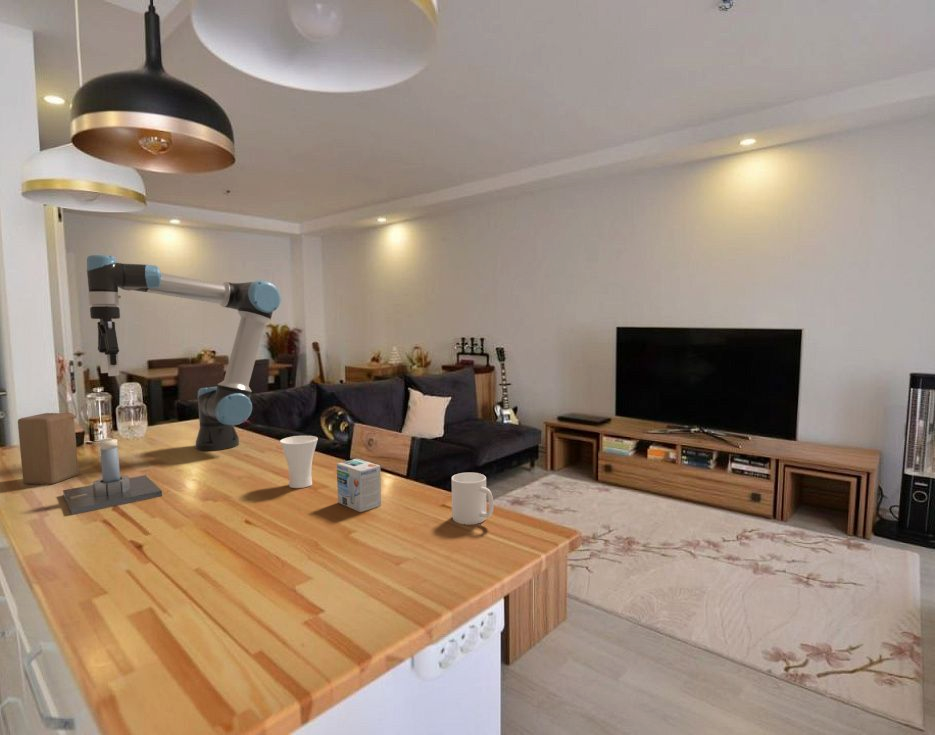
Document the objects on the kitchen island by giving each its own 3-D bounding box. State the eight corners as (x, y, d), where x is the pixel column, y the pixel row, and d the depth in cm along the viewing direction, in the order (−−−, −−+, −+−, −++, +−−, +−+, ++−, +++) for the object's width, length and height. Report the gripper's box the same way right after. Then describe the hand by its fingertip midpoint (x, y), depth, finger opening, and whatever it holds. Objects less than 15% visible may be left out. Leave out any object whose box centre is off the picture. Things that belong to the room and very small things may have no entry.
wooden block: (80, 475, 165) (75, 412, 163) (52, 485, 155) (46, 418, 153) (51, 474, 166) (46, 412, 164) (21, 484, 156) (15, 418, 154)
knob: (119, 487, 148) (115, 436, 146) (122, 490, 145) (118, 438, 143) (102, 490, 145) (97, 438, 144) (104, 493, 142) (100, 440, 141)
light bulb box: (336, 503, 138) (335, 463, 136) (358, 496, 142) (356, 457, 141) (361, 513, 130) (359, 470, 129) (382, 505, 135) (381, 465, 134)
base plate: (145, 479, 159) (144, 465, 159) (162, 495, 144) (161, 480, 144) (63, 495, 146) (62, 479, 145) (72, 514, 131) (70, 497, 130)
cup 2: (469, 509, 132) (469, 470, 131) (505, 522, 123) (504, 480, 122) (444, 518, 126) (444, 477, 125) (480, 533, 117) (480, 489, 116)
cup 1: (290, 493, 145) (288, 445, 144) (276, 484, 153) (274, 439, 152) (325, 485, 152) (324, 439, 151) (310, 477, 160) (308, 433, 159)
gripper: (127, 305, 155) (132, 376, 157) (112, 307, 173) (116, 370, 175) (96, 305, 150) (101, 378, 152) (84, 306, 168) (89, 372, 170)
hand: (109, 374), depth 164 cm, fingers open, 13 cm apart
